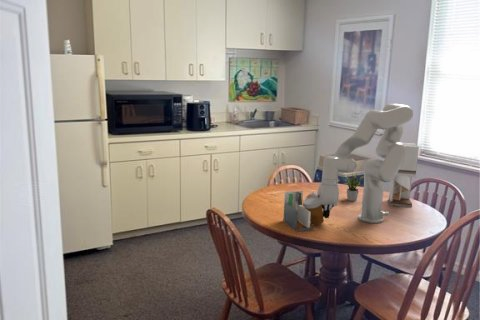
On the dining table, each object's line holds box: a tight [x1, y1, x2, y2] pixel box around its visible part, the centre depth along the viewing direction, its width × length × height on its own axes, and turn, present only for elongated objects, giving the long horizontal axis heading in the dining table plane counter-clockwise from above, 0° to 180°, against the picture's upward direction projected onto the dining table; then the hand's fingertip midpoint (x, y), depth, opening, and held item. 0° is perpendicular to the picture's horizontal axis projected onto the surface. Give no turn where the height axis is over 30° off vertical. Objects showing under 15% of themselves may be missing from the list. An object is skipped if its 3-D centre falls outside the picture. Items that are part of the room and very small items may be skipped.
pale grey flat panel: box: [297, 192, 311, 228], centre depth 198 cm, size 1×13×14 cm, turn 16°
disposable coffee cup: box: [302, 196, 325, 226], centre depth 199 cm, size 10×10×12 cm
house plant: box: [343, 173, 364, 202], centre depth 240 cm, size 14×14×16 cm
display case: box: [388, 142, 420, 208], centre depth 234 cm, size 11×11×35 cm
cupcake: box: [305, 190, 317, 199], centre depth 223 cm, size 9×9×10 cm
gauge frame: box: [282, 190, 314, 232], centre depth 197 cm, size 10×15×15 cm, turn 16°
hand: (325, 217), depth 202 cm, fingers closed
